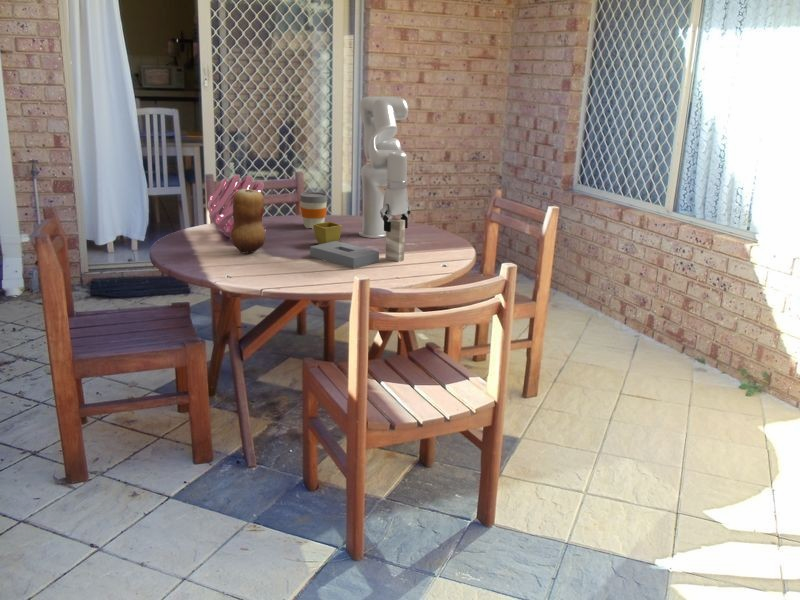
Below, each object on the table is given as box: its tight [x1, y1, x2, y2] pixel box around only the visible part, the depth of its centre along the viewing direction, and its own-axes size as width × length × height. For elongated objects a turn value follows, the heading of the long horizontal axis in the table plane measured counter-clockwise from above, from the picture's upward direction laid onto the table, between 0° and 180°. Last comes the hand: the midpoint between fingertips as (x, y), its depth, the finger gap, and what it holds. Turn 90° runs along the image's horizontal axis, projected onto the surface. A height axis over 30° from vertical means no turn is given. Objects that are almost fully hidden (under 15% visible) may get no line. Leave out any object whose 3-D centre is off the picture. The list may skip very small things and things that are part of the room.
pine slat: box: [385, 217, 406, 262], centre depth 286 cm, size 3×7×16 cm, turn 49°
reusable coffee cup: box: [299, 191, 328, 230], centre depth 337 cm, size 13×13×15 cm
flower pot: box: [313, 221, 342, 245], centre depth 305 cm, size 9×9×9 cm
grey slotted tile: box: [309, 241, 380, 269], centre depth 287 cm, size 14×24×4 cm, turn 49°
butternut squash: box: [229, 188, 266, 253], centre depth 290 cm, size 14×13×25 cm
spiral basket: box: [207, 173, 267, 238], centre depth 314 cm, size 28×28×27 cm
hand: (395, 229), depth 284 cm, fingers open, 9 cm apart
